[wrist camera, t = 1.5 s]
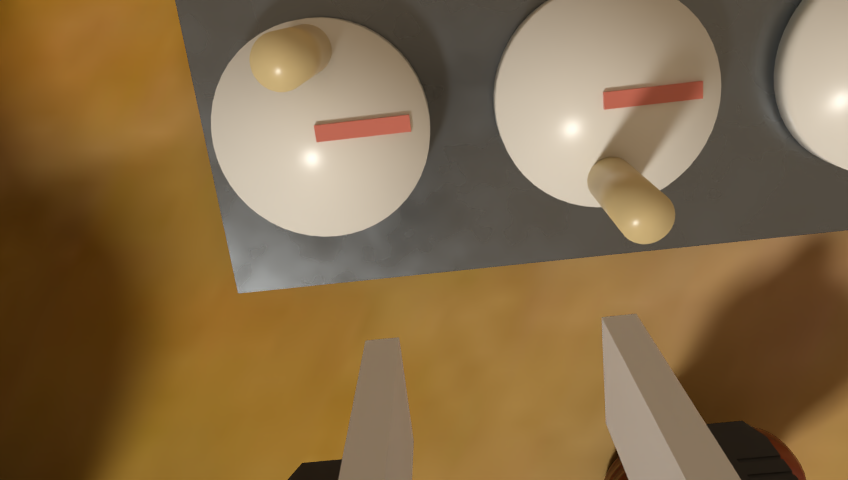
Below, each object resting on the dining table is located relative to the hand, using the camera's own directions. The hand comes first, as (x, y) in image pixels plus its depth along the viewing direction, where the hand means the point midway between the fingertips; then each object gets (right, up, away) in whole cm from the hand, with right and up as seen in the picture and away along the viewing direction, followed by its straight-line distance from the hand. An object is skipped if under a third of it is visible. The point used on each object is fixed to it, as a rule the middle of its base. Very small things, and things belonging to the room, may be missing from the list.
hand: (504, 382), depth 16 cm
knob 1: (-6, +8, +16) cm, 19 cm away
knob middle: (+6, +10, +15) cm, 19 cm away
